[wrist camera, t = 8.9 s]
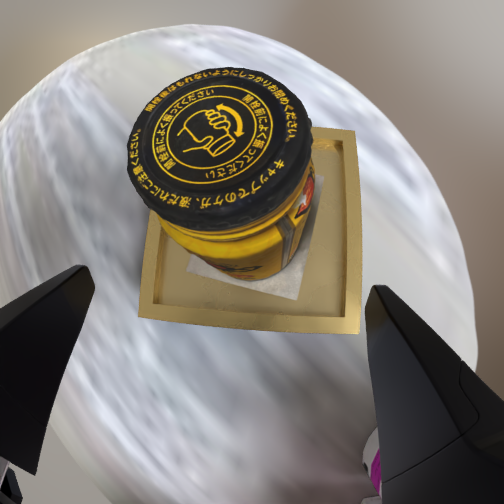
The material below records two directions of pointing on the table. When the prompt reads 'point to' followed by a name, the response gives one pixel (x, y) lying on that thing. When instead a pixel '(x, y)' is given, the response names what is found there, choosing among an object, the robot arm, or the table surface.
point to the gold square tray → (260, 303)
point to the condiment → (230, 176)
